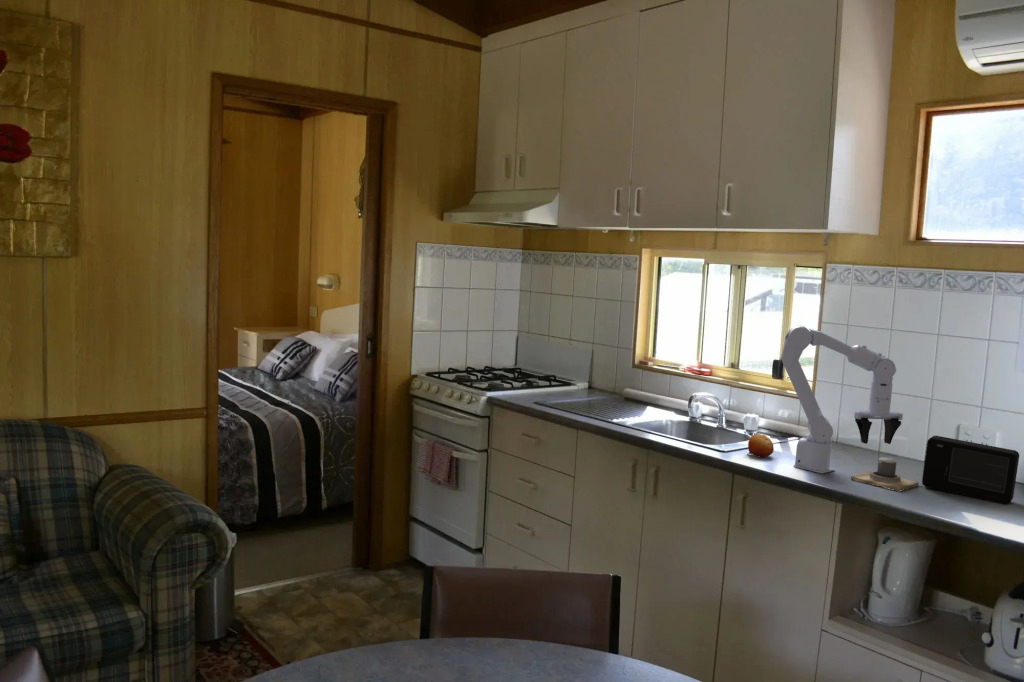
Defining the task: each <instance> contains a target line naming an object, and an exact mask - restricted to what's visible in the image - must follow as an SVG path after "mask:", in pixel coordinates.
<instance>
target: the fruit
mask: <svg viewBox="0 0 1024 682" xmlns="http://www.w3.org/2000/svg"><path fill="white" fill-rule="evenodd" d="M747 447H748V453H747V454H746V455H747V456H748V455H752V456H754V457H756V458H760V459H764V458H766V457H770V456H772V454H773V453H774V443H773V441H772V440H771V438H769V437H767V435H765V434H761V433H756V434H754V435H751V437H750V438H749V439H748V442H747Z"/></svg>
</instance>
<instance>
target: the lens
mask: <svg viewBox="0 0 1024 682" xmlns="http://www.w3.org/2000/svg"><path fill="white" fill-rule="evenodd" d="M876 469H877V470H876V471H877V476H882V477H888V478H895V474H897V473H896V470H897V460H896V459H895V458H890V457H879V458H878V460H877V468H876Z"/></svg>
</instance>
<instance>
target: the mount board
mask: <svg viewBox="0 0 1024 682" xmlns="http://www.w3.org/2000/svg"><path fill="white" fill-rule="evenodd" d="M851 479H853V480H852V481H854V480H856V481H855V482H858V481H860V482H859V483H862V482H865V483H864V484H866V483H869V484H868V485H870V484H873V485H872V486H874V485H877V486H876V487H878V486H882V487H886V488H890V489H894V490H897V491H896V492H898V491H900V490H903V489H906V490H908V489H907V488H910V489H912V488H911V487H913V488H915V487H914V486H916V487H919V482H917V481H914V480H909V479H905V478H902V477H901V475H899V474H897V473H895V478H888V477H882V476H877V470H872V471H867V472H863V473H859V474H856V475H851V476H850V480H851ZM882 487H881V488H882ZM886 488H885V489H886ZM890 489H889V490H890ZM894 490H893V491H894ZM903 491H904V490H903ZM900 492H901V491H900Z"/></svg>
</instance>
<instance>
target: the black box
mask: <svg viewBox="0 0 1024 682" xmlns="http://www.w3.org/2000/svg"><path fill="white" fill-rule="evenodd" d="M1019 461H1020V453H1019V452H1018V451H1017V450H1015V449H1008V448H1004V447H998V446H993V445H989V444H983V443H977V442H972V441H966V440H962V439H956V438H950V437H945V436H941V435H940V436H939V435H932V436H931V437H930V438H929V439H927V441H926V448H925V456H924V464H923V465H924V466H923V471H922V477H921V478H922V479H921V483H922V485H923V486H924V487H925V488H930V489H933V490H938V491H943V492H947V493H952V494H955V495H961V496H965V497H969V498H974V499H979V500H983V501H988V502H991V503H997V504H1001V505H1009V504H1010V503H1011V502H1012V500H1013V499H1014V497H1015V496H1014V494H1015V490H1016V489H1015V488H1016V480H1017V474H1018V468H1019Z"/></svg>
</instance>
